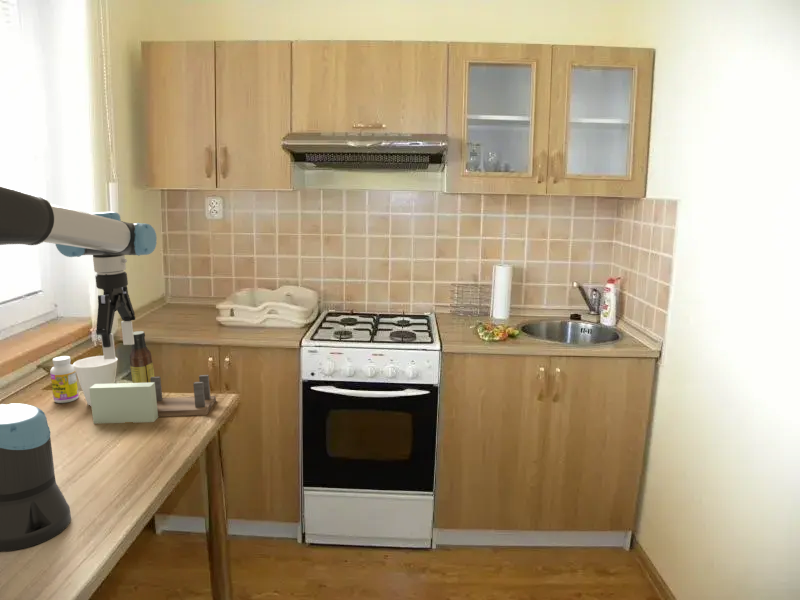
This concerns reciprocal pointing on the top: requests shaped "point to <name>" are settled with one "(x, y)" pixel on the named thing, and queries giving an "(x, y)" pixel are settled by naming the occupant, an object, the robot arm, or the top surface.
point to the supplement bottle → (63, 380)
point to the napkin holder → (185, 400)
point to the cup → (95, 373)
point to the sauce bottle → (141, 360)
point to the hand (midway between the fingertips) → (119, 351)
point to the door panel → (123, 402)
